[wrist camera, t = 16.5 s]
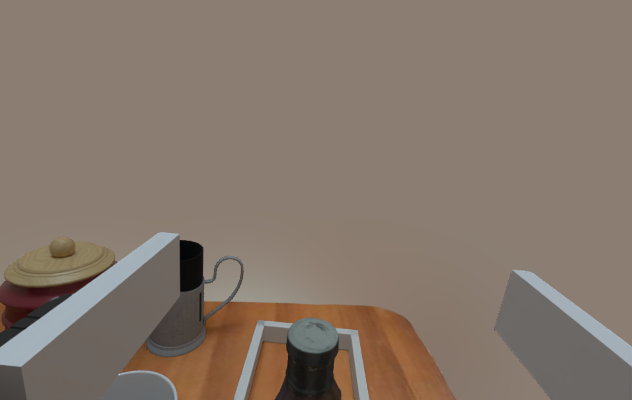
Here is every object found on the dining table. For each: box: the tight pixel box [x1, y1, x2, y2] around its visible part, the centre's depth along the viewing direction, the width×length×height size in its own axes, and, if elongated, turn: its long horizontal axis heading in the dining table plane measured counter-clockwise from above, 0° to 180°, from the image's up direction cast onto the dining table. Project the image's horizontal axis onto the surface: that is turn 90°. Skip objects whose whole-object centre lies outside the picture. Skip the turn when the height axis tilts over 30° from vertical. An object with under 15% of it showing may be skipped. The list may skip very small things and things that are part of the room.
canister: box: [0, 237, 118, 330], centre depth 42 cm, size 13×13×18 cm
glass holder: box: [146, 240, 243, 357], centre depth 49 cm, size 9×14×15 cm, turn 106°
